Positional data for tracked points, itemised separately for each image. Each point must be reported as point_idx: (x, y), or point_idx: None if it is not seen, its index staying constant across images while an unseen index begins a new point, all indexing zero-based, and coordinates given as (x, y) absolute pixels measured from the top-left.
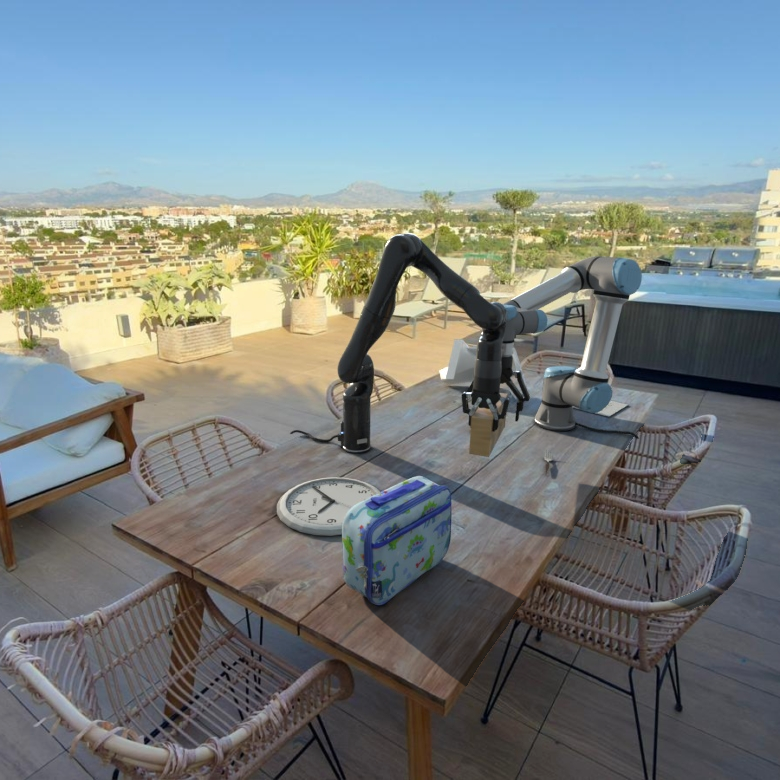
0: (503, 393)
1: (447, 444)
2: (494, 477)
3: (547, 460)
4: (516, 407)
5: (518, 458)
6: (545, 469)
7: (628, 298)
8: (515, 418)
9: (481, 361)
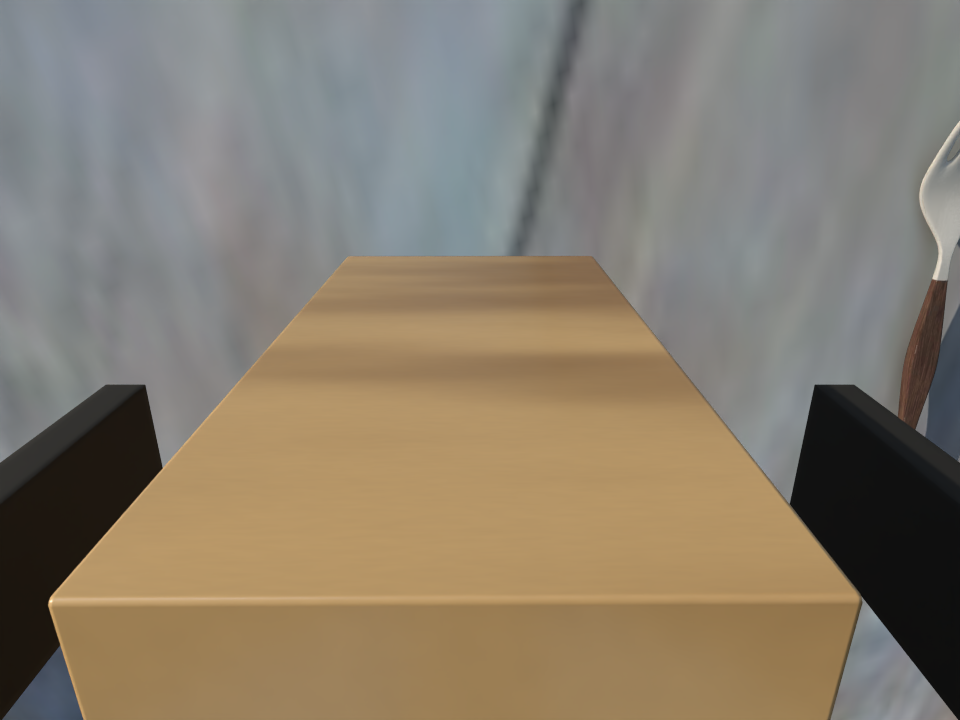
0: (667, 629)
1: (45, 214)
2: None
3: (942, 247)
4: (949, 706)
5: (691, 257)
6: (899, 411)
7: None
8: (815, 533)
9: None
